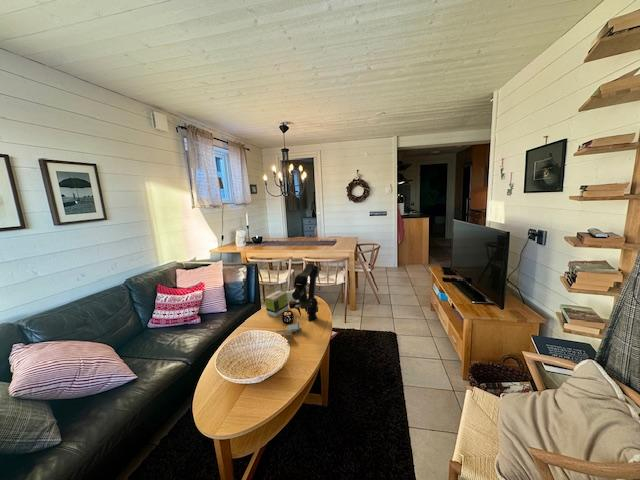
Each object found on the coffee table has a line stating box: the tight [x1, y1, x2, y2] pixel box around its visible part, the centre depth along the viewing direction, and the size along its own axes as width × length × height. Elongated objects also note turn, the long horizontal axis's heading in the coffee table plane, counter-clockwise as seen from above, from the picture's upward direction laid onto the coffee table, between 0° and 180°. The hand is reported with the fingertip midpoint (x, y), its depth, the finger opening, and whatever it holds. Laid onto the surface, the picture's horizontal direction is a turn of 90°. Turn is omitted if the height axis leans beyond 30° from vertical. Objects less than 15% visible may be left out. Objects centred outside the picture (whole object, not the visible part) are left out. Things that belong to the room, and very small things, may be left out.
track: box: [272, 327, 303, 336], centre depth 173 cm, size 8×21×1 cm, turn 100°
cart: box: [286, 317, 301, 332], centre depth 173 cm, size 6×8×7 cm
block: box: [283, 330, 293, 343], centre depth 164 cm, size 4×4×5 cm
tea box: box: [264, 290, 290, 318], centre depth 201 cm, size 15×10×15 cm
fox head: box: [285, 286, 309, 303], centre depth 215 cm, size 13×17×20 cm
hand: (304, 315), depth 172 cm, fingers open, 4 cm apart
